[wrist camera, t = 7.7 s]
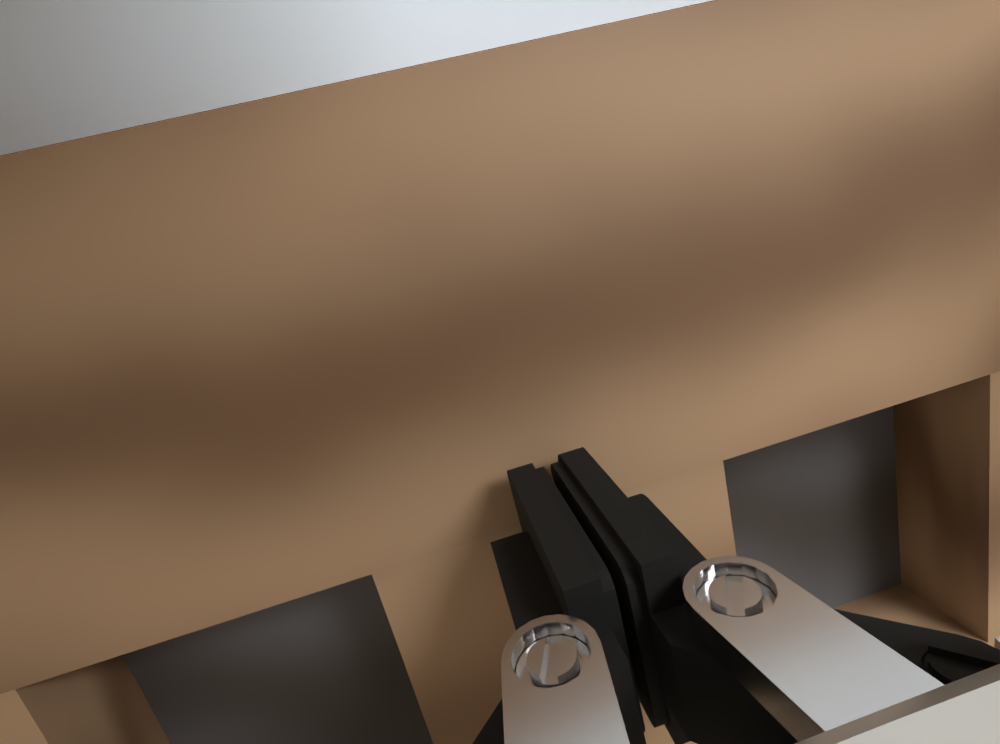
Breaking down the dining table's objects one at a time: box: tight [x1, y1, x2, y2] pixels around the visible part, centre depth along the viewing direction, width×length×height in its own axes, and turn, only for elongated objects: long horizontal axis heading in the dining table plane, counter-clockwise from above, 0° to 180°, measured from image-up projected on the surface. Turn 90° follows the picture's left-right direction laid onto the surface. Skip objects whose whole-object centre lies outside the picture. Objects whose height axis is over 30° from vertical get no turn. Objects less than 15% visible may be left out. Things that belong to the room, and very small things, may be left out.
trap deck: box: [0, 0, 1000, 744], centre depth 13 cm, size 25×24×5 cm
